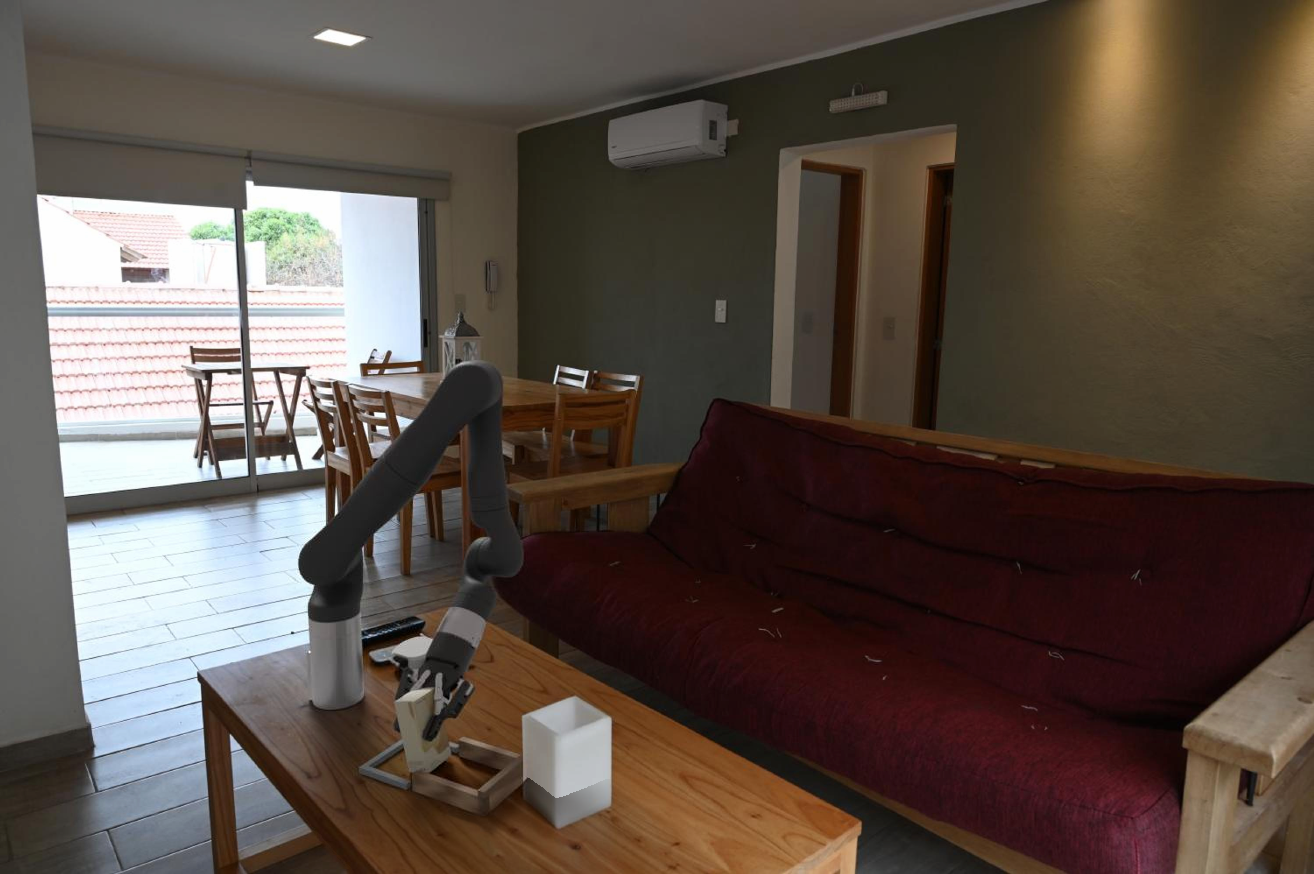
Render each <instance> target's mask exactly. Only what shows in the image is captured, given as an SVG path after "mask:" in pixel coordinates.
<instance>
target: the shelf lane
mask: <svg viewBox="0 0 1314 874" xmlns="http://www.w3.org/2000/svg"><path fill="white" fill-rule="evenodd" d="M458 745H459V751H458V757H460V758H463V759H466V760H469V761H472V762H476V763H478V764H481V765H485V766H488V767H491V768H493V769H496V770H499V772H498V773H497V774H495V775H494V776H492V778H491V779H489V780H488V781H487V782H486V783H485V784H484V785H482V786H481V787H480V788H479V789H475V788H472V787H469V786H466V785H463V784H460V783H458V782H455V781H451V780H449V779H446V778H443V777H439V776H438V775H434V774H432V773H430V772H429V773H426V772H423V771H420V770H416V771H415V772H411V775H412V776H411V779H412V780H411V782H412V783H411V788H412V791H413V792H415V793H417V794H420V795H424V796H426V797H428V798H432V799H434V800H436V801H440V802H443V803H445V804H448V805H451V806H454V807H457V808H460V809H462V810H465V811H467V812H470V813H473V814H476V815H478V816H481V817H486V816H487V815H488V814H490V813H491V811H493V810H494V809H495V808H497V806H498V805H500V803H502V802H503V801H504V800H505V799H506V798H507V797H509V796H510V795H511V794H513V792H514V791H515V790H517V789H518V788H519V787H520V786H521V785H522V784H524V782H523V752H522V753H520V754H519V753H517V752H513V751H510V750H507V749H504V748H502V747H501V748H500V747H497V746H495V745H491V744H487V743H485V742H481V741H478V740H475V739H473V738H469V737H465V736H462V737H460V738H459V739H458Z"/></svg>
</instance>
